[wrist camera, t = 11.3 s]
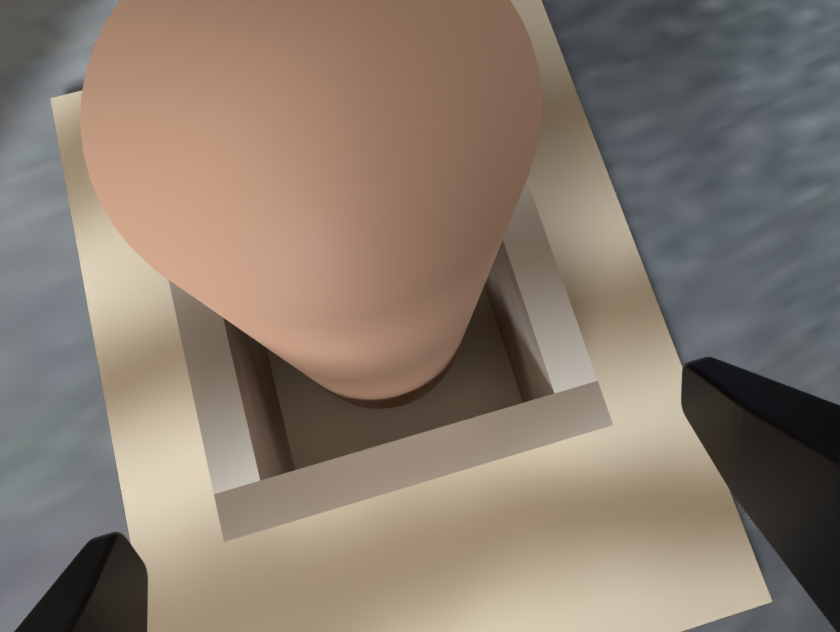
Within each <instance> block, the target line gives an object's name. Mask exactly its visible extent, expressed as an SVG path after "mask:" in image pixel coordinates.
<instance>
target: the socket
mask: <svg viewBox="0 0 840 632" xmlns="http://www.w3.org/2000/svg"><path fill="white" fill-rule="evenodd" d="M511 2H512V4H513V5H514V7H515V8H516V10H517V12H518V13H519V15H520V17H521V19H522V21H523V23H524V25H525V28H526V30H527V32H528V35H529V37H530V39H531V41H532V45H533V49H534V52H535V56H536V59H537V63H538V66H539V73H540V81H541V89H542V122H541V128H540V135H539V141H538V147H537V151H536V154H535V157H534V160H533V164H532V167H531V170H530V173H529V176H528V179H527V181H526V183H525V186H524V188H523V191H522V193H521V196H520V198H519V201H518V203H517V206H516V208H515V211H514V213H513V215H512V218H511V220H510V223H509V225H508V228H507V230H506V233H505V235H504V238H503V240H502V243H501V245H500V248H499V250H498V252H497V255H496V257H495V260H494V262H493V265H492V267H491V270H490V272H489V275H488V277H487V280H486V282H485V284H484V287H483V289H482V292H481V294H480V297H479V299H478V302H477V304H476V307H475V309H474V312H473V314H472V316H471V319H470V321H469V324H468V326H467V329H466V331H465V334H464V336H463V339H462V341H461V344H460V346H459V349H458V351H457V353H456V356H455V358H454V360H453V363H452V365H451V367H450V369H449V370H448V372H447V373H446V375H445V376H444V377H443V379H442V380H441V381H440V382H439V383H438V384H437V385H436V386H435V387H434V388H433V389H432V390H431V391H430V392H428V393H427V394H425V395H424V396H422V397H421V398H419V399H417V400H415V401H413V402H411V403H408V404H405V405H402V406H398V407H393V408H384V409H375V408H366V407H361V406H357V405H354V404H351V403H348V402H346V401H344V400H342V399H340V398H339V397H337V396H336V395H334V394H333V393H331V392H330V391H328V390H327V389H325V388H324V387H322V386H321V385H320V384H318V383H317V382H315V381H314V380H312V379H311V378H309V377H308V376H307V375H305V374H304V373H302V372H301V371H299V370H298V369H297V368H295V367H294V366H292V365H291V364H289V363H288V362H286V361H285V360H284V359H282V358H281V357H279V356H278V355H276V354H275V353H273V352H272V351H271V350H269V349H268V348H266V347H265V346H263V345H262V344H261V343H259V342H258V341H256V340H255V339H253V338H252V337H250V336H249V335H248V334H246V333H245V332H243V331H242V330H240V329H239V328H238V327H236V326H235V325H233V324H232V323H230V322H229V321H227V320H226V319H225V318H223V317H222V316H220V315H219V314H217V313H216V312H215V311H213V310H212V309H210V308H209V307H207V306H206V305H204V304H203V303H202V302H200V301H199V300H197V299H196V298H194V297H193V296H191V295H190V294H189V293H187V292H186V291H184V290H183V289H181V288H180V287H179V286H177V285H176V284H174V283H173V282H171V281H170V280H168V279H167V278H166V277H164V276H163V275H161V274H160V273H158V272H157V271H156V270H155V269H154V268H153V267H151V266H150V265H149V264H148V263H147V262H146V261H145V260H144V259H142V258H141V257H140V256H139V255H138V254H137V253H136V252H135V251H134V250H133V249H132V248H131V247H130V245H129V244H128V243H127V242H126V241H125V239H124V238H123V237H122V236H121V235H120V233H119V232H118V231H117V230H116V228H115V227H114V225H113V224H112V222H111V220H110V219H109V217H108V215H107V214H106V212H105V210H104V209H103V207H102V206H101V204H100V201H99V199H98V197H97V194H96V192H95V190H94V187H93V185H92V182H91V180H90V177H89V173H88V170H87V166H86V162H85V158H84V154H83V148H82V138H81V128H80V113H81V95H82V91H78V92H74V93H70V94H66V95H62V96H58V97H54V98H50V99H51V104H52V110H53V115H54V121H55V126H56V132H57V137H58V143H59V148H60V154H61V160H62V165H63V171H64V176H65V182H66V187H67V193H68V198H69V204H70V209H71V215H72V220H73V226H74V232H75V237H76V243H77V248H78V254H79V259H80V265H81V270H82V276H83V281H84V287H85V292H86V298H87V303H88V309H89V315H90V320H91V326H92V331H93V337H94V342H95V348H96V353H97V359H98V364H99V370H100V375H101V381H102V386H103V392H104V398H105V403H106V409H107V414H108V420H109V425H110V431H111V436H112V442H113V447H114V453H115V458H116V464H117V470H118V475H119V481H120V486H121V492H122V497H123V503H124V508H125V514H126V519H127V525H128V530H129V536H130V541H131V545H132V546H133V548H134V549H135V551H136V552H137V553H138V555H139V556H140V557H141V559H142V560H143V562H144V564H145V566H146V569H147V573H148V622H147V632H681V631H685V630H688V629H691V628H694V627H697V626H700V625H703V624H706V623H709V622H712V621H715V620H718V619H721V618H724V617H728V616H731V615H734V614H737V613H740V612H743V611H746V610H749V609H752V608H755V607H758V606H761V605H764V604H767V603H770V602H772V600H771V597H770V594H769V592H768V589H767V587H766V584H765V581H764V579H763V576H762V574H761V571H760V568H759V566H758V563H757V560H756V558H755V555H754V553H753V550H752V547H751V545H750V542H749V540H748V537H747V534H746V532H745V529H744V527H743V524H742V521H741V519H740V516H739V514H738V511H737V508H736V506H735V503H734V501H733V498H732V495H731V493H730V490H729V488H728V486H727V485H726V483H725V482H724V480H723V478H722V477H721V475H720V473H719V472H718V470H717V468H716V467H715V465H714V463H713V462H712V460H711V458H710V457H709V455H708V453H707V452H706V450H705V448H704V447H703V445H702V443H701V442H700V440H699V438H698V437H697V435H696V433H695V432H694V430H693V429H692V427H691V425H690V424H689V422H688V420H687V419H686V417H685V415H684V413H683V410H682V406H681V383H682V365H681V362H680V360H679V357H678V355H677V352H676V349H675V347H674V344H673V342H672V339H671V336H670V334H669V331H668V329H667V326H666V323H665V321H664V318H663V315H662V313H661V310H660V308H659V305H658V302H657V300H656V297H655V295H654V292H653V289H652V287H651V284H650V282H649V279H648V276H647V274H646V271H645V269H644V266H643V263H642V261H641V258H640V256H639V253H638V250H637V248H636V245H635V243H634V240H633V237H632V235H631V232H630V229H629V227H628V224H627V222H626V219H625V216H624V214H623V211H622V209H621V206H620V203H619V201H618V198H617V196H616V193H615V190H614V188H613V185H612V183H611V180H610V177H609V175H608V172H607V170H606V167H605V164H604V162H603V159H602V156H601V154H600V151H599V149H598V146H597V143H596V141H595V138H594V136H593V133H592V130H591V128H590V125H589V123H588V120H587V117H586V115H585V112H584V110H583V107H582V104H581V102H580V99H579V97H578V94H577V91H576V89H575V86H574V84H573V81H572V78H571V76H570V73H569V70H568V68H567V65H566V63H565V60H564V57H563V55H562V52H561V50H560V47H559V44H558V42H557V39H556V37H555V34H554V31H553V29H552V26H551V24H550V21H549V18H548V16H547V13H546V11H545V8H544V5H543V3H542V0H511Z"/></svg>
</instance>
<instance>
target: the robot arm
mask: <svg viewBox="0 0 840 632" xmlns="http://www.w3.org/2000/svg"><path fill="white" fill-rule="evenodd" d="M681 406H682V410H683V413H684V415H685V417H686V419H687V420H688V422H689V424H690V425H691V427H692V429H693V430H694V432H695V433H696V435H697V437H698V438H699V440H700V442H701V443H702V445H703V447H704V448H705V450H706V452H707V453H708V455H709V457H710V458H711V460H712V462H713V463H714V465H715V467H716V468H717V470H718V472H719V473H720V475H721V477H722V478H723V480H724V482H725V483H726V485H727V486H728V488H729V489H730V491H731V493H732V494H733V496H734V497H735V498H736V500H737V501H738V503H739V504H740V505H741V507H742V508H743V509H744V511H745V512H746V513H747V515H748V516H749V517H750V519H751V520H752V521H753V523H754V524H755V525H756V527H757V528H758V529H759V530H760V532H761V533H762V534H763V536H764V537H765V538H766V540H767V541H768V542H769V544H770V545H771V546H772V548H773V549H774V550H775V551H776V553H777V554H778V555H779V557H780V558H781V559H782V561H783V562H784V563H785V565H786V566H787V567H788V569H789V570H790V571H791V572H792V574H793V575H794V576H795V578H796V579H797V580H798V582H799V583H800V584H801V586H802V587H803V588H804V590H805V591H806V592H807V593H808V595H809V596H810V597H811V599H812V600H813V601H814V603H815V604H816V605H817V607H818V608H819V609H820V611H821V612H822V613H823V614H824V616H825V617H826V618H827V620H828V621H829V622H830V624H831V625H832V626H833V628H834V629H835V630H836V632H840V405H838V404H835V403H832V402H830V401H827V400H824V399H822V398H819V397H816V396H814V395H811V394H808V393H806V392H803V391H800V390H798V389H795V388H792V387H790V386H787V385H784V384H782V383H779V382H776V381H774V380H771V379H768V378H766V377H763V376H761V375H758V374H755V373H753V372H750V371H747V370H745V369H742V368H739V367H737V366H734V365H731V364H729V363H726V362H723V361H721V360H718V359H715V358H712V357H704V358H701V359H697V360H694V361H691V362H688V363H686V364H685V365H684V366H683V368H682V383H681ZM147 622H148V573H147V569H146V566H145V564H144V562H143V560H142V559H141V557H140V556H139V555H138V553H137V552H136V551H135V549H134V548H133V546H132V545H131V544H130V542H129V541H128V539H127V538H126V537H125V536H124V534H122V533H120V532H112V533H109V534H105V535H102V536H98V537H95V538H93V539H91V540H90V541H89V542H88V543H87V544H86V545H85V546H84V547H83V548H82V550H81V551H80V552H79V553H78V555H77V556H76V557H75V558H74V559H73V561H72V562H71V563H70V564H69V565H68V567H67V568H66V569H65V570H64V572H63V573H62V574H61V575H60V576H59V578H58V579H57V580H56V581H55V583H54V584H53V585H52V586H51V587H50V589H49V590H48V591H47V592H46V594H45V595H44V596H43V597H42V598H41V600H40V601H39V602H38V603H37V605H36V606H35V607H34V608H33V609H32V611H31V612H30V613H29V614H28V616H27V617H26V618H25V619H24V620H23V622H22V623H21V624H20V625H19V627H18V628H17V629H16V630H15V631H14V632H147Z"/></svg>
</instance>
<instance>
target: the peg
mask: <svg viewBox="0 0 840 632" xmlns="http://www.w3.org/2000/svg"><path fill="white" fill-rule="evenodd" d="M541 122H542V89H541V81H540V73H539V66H538V63H537V59H536V56H535V52H534V49H533V45H532V41H531V39H530V37H529V35H528V32H527V30H526V28H525V25H524V23H523V21H522V19H521V17H520V15H519V13H518V12H517V10H516V8H515V7H514V5H513V4H512V2H511V0H120V1H119V3H118V4H117V6H116V7H115V9H114V10H113V12H112V13H111V15H110V16H109V18H108V19H107V21H106V23H105V25H104V27H103V29H102V31H101V33H100V35H99V37H98V39H97V41H96V43H95V46H94V49H93V52H92V55H91V58H90V61H89V63H88V66H87V69H86V74H85V80H84V85H83V90H82V95H81V113H80V128H81V138H82V148H83V154H84V158H85V162H86V166H87V170H88V173H89V177H90V180H91V182H92V185H93V187H94V190H95V192H96V194H97V197H98V199H99V201H100V204H101V206H102V207H103V209H104V210H105V212H106V214H107V215H108V217H109V219H110V220H111V222H112V224H113V225H114V227H115V228H116V230H117V231H118V232H119V233H120V235H121V236H122V237H123V238H124V239H125V241H126V242H127V243H128V244H129V245H130V247H131V248H132V249H133V250H134V251H135V252H136V253H137V254H138V255H139V256H140V257H141V258H142V259H144V260H145V261H146V262H147V263H148V264H149V265H150V266H151V267H153V268H154V269H155V270H156V271H157V272H158V273H160V274H161V275H163V276H164V277H166V278H167V279H168V280H170V281H171V282H173V283H174V284H176V285H177V286H179V287H180V288H181V289H183V290H184V291H186V292H187V293H189V294H190V295H191V296H193V297H194V298H196V299H197V300H199V301H200V302H202V303H203V304H204V305H206V306H207V307H209V308H210V309H212V310H213V311H215V312H216V313H217V314H219V315H220V316H222V317H223V318H225V319H226V320H227V321H229V322H230V323H232V324H233V325H235V326H236V327H238V328H239V329H240V330H242V331H243V332H245V333H246V334H248V335H249V336H250V337H252V338H253V339H255V340H256V341H258V342H259V343H261V344H262V345H263V346H265V347H266V348H268V349H269V350H271V351H272V352H273V353H275V354H276V355H278V356H279V357H281V358H282V359H284V360H285V361H286V362H288V363H289V364H291V365H292V366H294V367H295V368H297V369H298V370H299V371H301V372H302V373H304V374H305V375H307V376H308V377H309V378H311V379H312V380H314V381H315V382H317V383H318V384H320V385H321V386H322V387H324V388H325V389H327V390H328V391H330V392H331V393H333V394H334V395H336V396H337V397H339V398H340V399H342V400H344V401H346V402H348V403H351V404H354V405H357V406H361V407H366V408H375V409H384V408H393V407H398V406H402V405H405V404H408V403H411V402H413V401H415V400H417V399H419V398H421V397H422V396H424V395H425V394H427V393H428V392H430V391H431V390H432V389H433V388H434V387H435V386H436V385H437V384H438V383H439V382H440V381H441V380H442V379H443V377H444V376H445V375H446V373H447V372H448V370H449V369H450V367H451V365H452V363H453V360H454V358H455V356H456V353H457V351H458V349H459V346H460V344H461V341H462V339H463V336H464V334H465V331H466V329H467V326H468V324H469V321H470V319H471V316H472V314H473V312H474V309H475V307H476V304H477V302H478V299H479V297H480V294H481V292H482V289H483V287H484V284H485V282H486V280H487V277H488V275H489V272H490V270H491V267H492V265H493V262H494V260H495V257H496V255H497V252H498V250H499V248H500V245H501V243H502V240H503V238H504V235H505V233H506V230H507V228H508V225H509V223H510V220H511V218H512V215H513V213H514V211H515V208H516V206H517V203H518V201H519V198H520V196H521V193H522V191H523V188H524V186H525V183H526V181H527V179H528V176H529V173H530V170H531V167H532V164H533V160H534V157H535V154H536V151H537V147H538V141H539V135H540V128H541Z"/></svg>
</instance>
